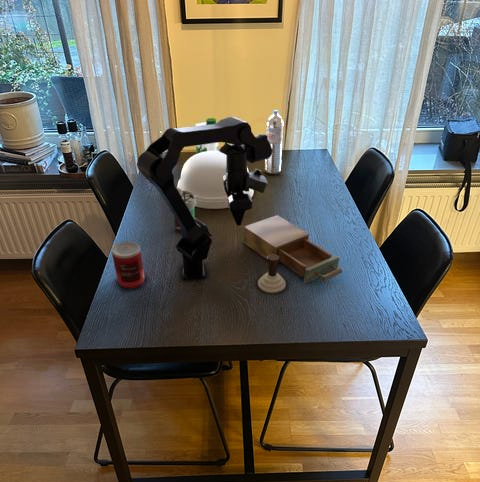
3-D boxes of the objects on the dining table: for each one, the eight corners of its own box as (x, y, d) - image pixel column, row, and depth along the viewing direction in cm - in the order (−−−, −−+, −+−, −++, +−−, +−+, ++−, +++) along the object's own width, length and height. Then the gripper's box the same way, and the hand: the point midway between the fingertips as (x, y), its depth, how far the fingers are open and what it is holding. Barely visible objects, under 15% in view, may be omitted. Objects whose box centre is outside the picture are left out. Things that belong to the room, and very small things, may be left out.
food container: (192, 234, 151) (190, 207, 145) (174, 233, 152) (171, 205, 146) (201, 217, 161) (200, 191, 154) (185, 216, 161) (183, 189, 155)
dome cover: (187, 214, 163) (184, 177, 154) (166, 182, 184) (162, 148, 175) (268, 200, 172) (270, 164, 163) (239, 171, 194) (239, 138, 185)
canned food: (132, 270, 135) (127, 238, 128) (150, 280, 131) (146, 247, 124) (112, 281, 130) (105, 249, 123) (130, 292, 126) (124, 259, 120)
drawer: (347, 275, 132) (349, 263, 129) (316, 290, 126) (318, 277, 124) (304, 248, 144) (305, 236, 141) (274, 260, 138) (275, 248, 135)
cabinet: (307, 250, 144) (309, 234, 140) (274, 264, 138) (275, 247, 134) (276, 231, 154) (277, 214, 150) (243, 243, 148) (244, 226, 144)
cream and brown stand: (288, 291, 127) (290, 264, 121) (260, 294, 126) (261, 266, 121) (282, 275, 133) (284, 248, 128) (255, 277, 132) (256, 250, 127)
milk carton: (220, 170, 194) (219, 122, 182) (200, 172, 192) (197, 124, 180) (215, 162, 201) (214, 116, 188) (195, 165, 199) (192, 117, 186)
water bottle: (261, 170, 195) (264, 109, 179) (275, 167, 197) (279, 107, 181) (269, 176, 190) (272, 114, 174) (283, 173, 192) (287, 112, 176)
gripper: (272, 179, 118) (269, 231, 128) (259, 152, 132) (258, 202, 142) (229, 181, 117) (230, 234, 126) (222, 154, 131) (223, 204, 141)
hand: (236, 217), depth 134 cm, fingers open, 9 cm apart
